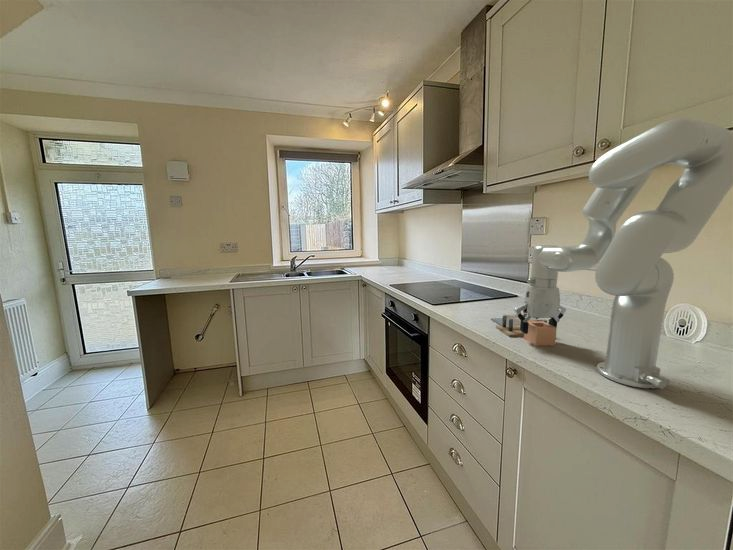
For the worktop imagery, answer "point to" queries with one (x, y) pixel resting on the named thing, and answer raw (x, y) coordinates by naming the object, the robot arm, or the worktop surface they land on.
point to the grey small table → (515, 319)
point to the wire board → (514, 333)
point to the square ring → (541, 333)
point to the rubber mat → (499, 321)
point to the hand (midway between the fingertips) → (537, 332)
